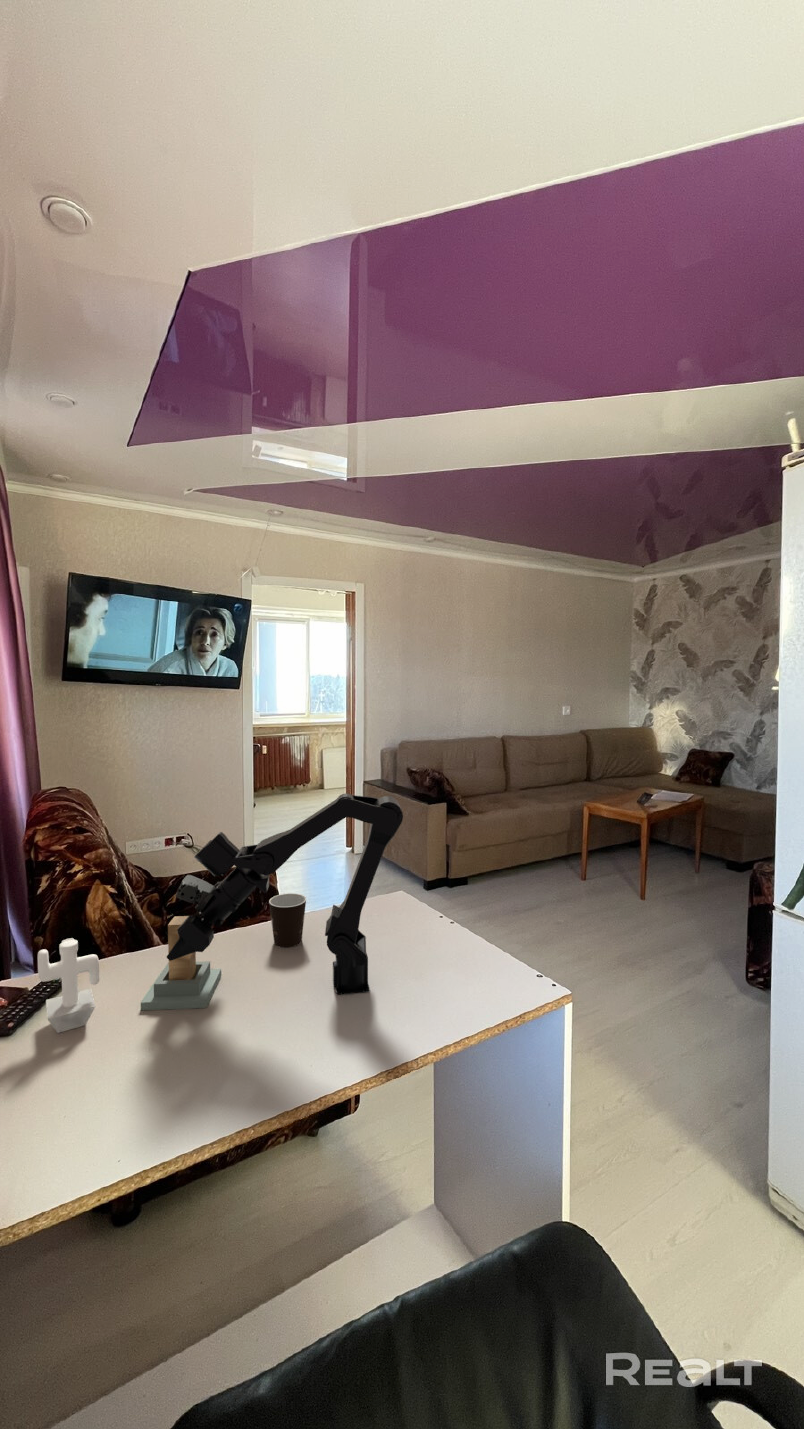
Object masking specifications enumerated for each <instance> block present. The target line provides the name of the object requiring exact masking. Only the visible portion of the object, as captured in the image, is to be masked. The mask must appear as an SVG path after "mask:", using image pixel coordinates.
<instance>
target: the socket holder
mask: <svg viewBox="0 0 804 1429" xmlns="http://www.w3.org/2000/svg"><path fill="white" fill-rule="evenodd" d="M221 977H222V968H221V967H220V968H211V961H209V960H208V961H207V960H206V961H205V960H204V961H196V977H195V979H194V980H169V962H167V963H166V965H165V967H164V968H163V969H162V970H161V972H160V973H159V975H158V976H157V977H156V979H155V980H154V982H153V984H152V985H151V987H150V988H149V990H148V991H147V992H146V994H145V995H144V997H143V998H142V1000H141V1001H140V1011H158V1010H162V1011H163V1010H183V1009H184V1010H185V1009H187V1010H189V1009H207V1007H208V1006H209V1003H210V1001H211V999H212V997H213V994H214V993H215V991H216V988H217V986H218V984H219V982H220V980H221Z"/></svg>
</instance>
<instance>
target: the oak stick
mask: <svg viewBox="0 0 804 1429" xmlns="http://www.w3.org/2000/svg"><path fill="white" fill-rule="evenodd" d="M188 916H189V915H183V916H182V915H179V916H173V918H172V919H171V920H170V921H169V923H168V924H167V940H168V942H167V945H168V946H167V947H168V949H167V950H168V953H167V955H168V954H169V952H170V951H171V949H172V948H173V947H174V945H175V944H176V942H177V941H178V939H179V934H178V931H177V929H178V928H179V927H180V925H181V924H182V923H183V922H184V920H185V919H186V918H187V917H188ZM196 953H197V952H194V953H191V954H188V955H185V956H182V957H180V958H177V959H174V960H172V961H170V960H169V959H168V963H169V980H194V979H195V977H196V962H197V959H196V958H197V957H196V956H197V954H196Z"/></svg>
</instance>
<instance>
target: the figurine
mask: <svg viewBox="0 0 804 1429" xmlns="http://www.w3.org/2000/svg"><path fill="white" fill-rule="evenodd" d="M78 941H79V940H77V939H74V938H73V937H71V938H66V939H63V940H61V943H60V944H58V945H59V946H58V948H59V955H60V960H59V961H57V962H54V963H53V962H52V963H50V961H49V958H50V957H49V951H48V950H47V949H46V948H45V949H40V950H39V951H38V952H37V974H38V979H39V981H40V982H43V983H44V982H50V981H53V980H54V981H55V980H58V979H61V994H62V995H61V996H57V997H52V998H49V999H48V998H47V999H46V1000H45V1006H46V1016H47V1021H48V1022H49V1024H50V1025H51V1026H52V1027H53V1029H54V1030H55V1031H56V1033H57V1034H60V1033H63V1032H66V1031H67V1032H68V1031H70V1030H73V1029H76V1028H80V1027H84V1026H86V1025H87V1024H88V1022H89V1019H90V1018H91V1015H92V1014H93V1012H94V1010H95V1008H96V1003H95V999H94V995H93V991H92V988H91V987H90V988H87V989H82V990H79V988H78V985H79V984H78V981H79V980H78V977H79V976H78V975H79V974H83V973H88V976H89V984H91V985H93V986H95V985H97V984H99V982H100V960H99V957H98V955H97V954H96V953H95V954H93V953H92V954H88V955H84V956H78V954H77V953H78V950H79V942H78Z"/></svg>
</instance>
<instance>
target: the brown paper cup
mask: <svg viewBox="0 0 804 1429" xmlns="http://www.w3.org/2000/svg"><path fill="white" fill-rule="evenodd" d="M268 904H269V911H270V912H269V913H270V920H271V927H272V936H273V944H274V945H275V946H276V947H279V948H285V949H286V948H293V947H296V946H298V945H300V944H301V943H302V940H303V932H304V930H303V929H304V923H305V913H306V905H307V897H306V896H305V895H303V894H300V893H282V894H278V895H274V896H273V897H271V898H270V899H269V900H268Z"/></svg>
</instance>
